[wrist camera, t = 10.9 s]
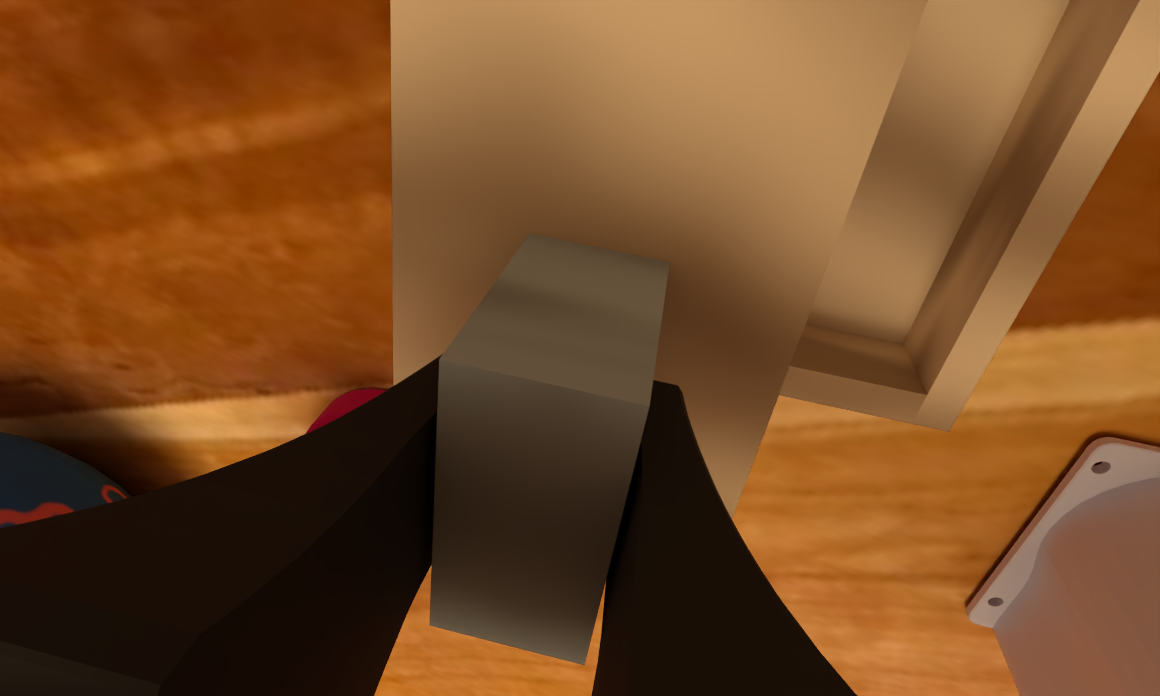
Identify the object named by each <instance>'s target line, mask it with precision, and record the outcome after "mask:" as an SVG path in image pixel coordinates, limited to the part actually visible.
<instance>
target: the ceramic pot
mask: <svg viewBox="0 0 1160 696" xmlns="http://www.w3.org/2000/svg"><path fill="white" fill-rule="evenodd" d="M129 497H131V496H130V495H129V494H128V493H127V492H126V491H125V490H124V489H123V488H122V487H120V486H119V485H118V484H117V483H115V482H114V481H112V480H111V479H109V478H108V477H107V476H105V475H104V474H102V473H101V472H99V471H98V470H97V469H95V468H93V467H92V466H90V465H88V464H86V463H84V462H82V461H80V460H78V459H76V458H74V457H71V456H69V455H67V454H65V453H63V452H61V451H58V450H56V449H54V448H52V447H50V446H48V445H45V444H43V443H40V442H37V441H34V440H31V439H28V438H25V437H20V436H16V435H11V434H7V433H2V432H0V528H4V527H9V526H13V525H18V524H23V523H27V522H31V521H35V520H40V519H44V518H48V517H53V516H57V515H61V514H66V513H70V512H74V511H78V510H83V509H87V508H91V507H96V506H99V505H103V504H107V503H111V502H115V501H118V500H122V499H126V498H129Z"/></svg>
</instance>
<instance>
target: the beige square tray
mask: <svg viewBox="0 0 1160 696" xmlns="http://www.w3.org/2000/svg"><path fill="white" fill-rule="evenodd" d="M1159 71H1160V0H928V1H927V4H926V7H925V9H924V12H923V15H922V17H921V20H920V22H919V25H918V28H917V30H916V33H915V36H914V38H913V41H912V44H911V46H910V49H909V52H908V54H907V57H906V60H905V62H904V65H903V67H902V70H901V73H900V75H899V78H898V81H897V83H896V86H895V89H894V91H893V94H892V97H891V99H890V102H889V105H888V107H887V110H886V112H885V115H884V118H883V120H882V123H881V126H880V128H879V131H878V134H877V136H876V139H875V142H874V144H873V147H872V150H871V152H870V155H869V157H868V160H867V163H866V165H865V168H864V171H863V173H862V176H861V179H860V181H859V184H858V187H857V189H856V192H855V194H854V197H853V200H852V202H851V205H850V208H849V210H848V213H847V216H846V218H845V221H844V224H843V226H842V229H841V232H840V234H839V237H838V239H837V242H836V245H835V247H834V250H833V253H832V255H831V258H830V261H829V263H828V266H827V269H826V271H825V274H824V277H823V279H822V282H821V284H820V287H819V290H818V292H817V295H816V298H815V300H814V303H813V306H812V308H811V311H810V314H809V316H808V319H807V322H806V324H805V327H804V329H803V332H802V335H801V337H800V340H799V343H798V345H797V348H796V351H795V353H794V356H793V359H792V361H791V364H790V367H789V369H788V372H787V374H786V377H785V380H784V382H783V385H782V388H781V390H780V393H779V395H781V396H786V397H791V398H795V399H800V400H804V401H809V402H814V403H818V404H823V405H827V406H832V407H837V408H841V409H846V410H851V411H855V412H860V413H864V414H869V415H874V416H878V417H883V418H887V419H892V420H897V421H901V422H906V423H911V424H915V425H920V426H924V427H929V428H934V429H938V430H943V431H947V432H949V431H950V429H951V427H952V426H953V424H954V422H955V420H956V419H957V417H958V415H959V414H960V412H961V410H962V409H963V407H964V405H965V403H966V402H967V400H968V398H969V397H970V395H971V393H972V391H973V390H974V388H975V386H976V385H977V383H978V381H979V379H980V378H981V376H982V374H983V373H984V371H985V369H986V367H987V366H988V364H989V362H990V361H991V359H992V357H993V355H994V354H995V352H996V350H997V349H998V347H999V345H1000V344H1001V342H1002V340H1003V338H1004V337H1005V335H1006V333H1007V332H1008V330H1009V328H1010V326H1011V325H1012V323H1013V321H1014V320H1015V318H1016V316H1017V314H1018V313H1019V311H1020V309H1021V308H1022V306H1023V304H1024V302H1025V301H1026V299H1027V297H1028V296H1029V294H1030V292H1031V290H1032V289H1033V287H1034V285H1035V284H1036V282H1037V280H1038V278H1039V277H1040V275H1041V273H1042V272H1043V270H1044V268H1045V267H1046V265H1047V263H1048V261H1049V260H1050V258H1051V256H1052V255H1053V253H1054V251H1055V249H1056V248H1057V246H1058V244H1059V243H1060V241H1061V239H1062V237H1063V236H1064V234H1065V232H1066V231H1067V229H1068V227H1069V225H1070V224H1071V222H1072V220H1073V219H1074V217H1075V215H1076V213H1077V212H1078V210H1079V208H1080V207H1081V205H1082V203H1083V202H1084V200H1085V198H1086V196H1087V195H1088V193H1089V191H1090V190H1091V188H1092V186H1093V184H1094V183H1095V181H1096V179H1097V178H1098V176H1099V174H1100V172H1101V171H1102V169H1103V167H1104V166H1105V164H1106V162H1107V160H1108V159H1109V157H1110V155H1111V154H1112V152H1113V150H1114V148H1115V147H1116V145H1117V143H1118V142H1119V140H1120V138H1121V136H1122V135H1123V133H1124V131H1125V130H1126V128H1127V126H1128V125H1129V123H1130V121H1131V119H1132V118H1133V116H1134V114H1135V113H1136V111H1137V109H1138V107H1139V106H1140V104H1141V102H1142V101H1143V99H1144V97H1145V95H1146V94H1147V92H1148V90H1149V89H1150V87H1151V85H1152V83H1153V82H1154V80H1155V78H1156V77H1157V75H1158V73H1159Z"/></svg>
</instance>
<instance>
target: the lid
mask: <svg viewBox="0 0 1160 696" xmlns="http://www.w3.org/2000/svg"><path fill="white" fill-rule="evenodd" d="M927 1H928V0H391V119H392V248H393V378H394V385H396V384H397V383H399V382H401V381H402V380H404V379H405V378H407V377H409V376H410V375H412V374H413V373H415V372H416V371H418V370H419V369H421V368H422V367H424V366H425V365H427V364H428V363H430V362H431V361H433V360H434V359H436V358H437V357H439V356H440V355H442V354H443V355H442V356H441V358H440V359H439V381H438V408H437V435H436V463H435V490H434V517H433V544H432V572H431V599H430V626H434V627H438V628H442V629H446V630H450V631H454V632H457V633H461V634H465V635H469V636H473V637H477V638H481V639H485V640H489V641H492V642H496V643H500V644H504V645H508V646H512V647H516V648H520V649H524V650H527V651H531V652H535V653H539V654H543V655H547V656H551V657H555V658H559V659H562V660H566V661H570V662H574V663H578V664H582V665H585V661H586V657H587V653H588V649H589V645H590V641H591V637H592V633H593V629H594V625H595V621H596V617H597V613H598V609H599V605H600V601H601V597H602V593H603V589H604V585H605V581H606V578H607V574H608V570H609V566H610V562H611V558H612V554H613V550H614V546H615V542H616V538H617V534H618V530H619V526H620V522H621V518H622V514H623V510H624V506H625V502H626V498H627V494H628V490H629V486H630V482H631V478H632V474H633V470H634V466H635V462H636V458H637V454H638V450H639V446H640V442H641V438H642V434H643V430H644V426H645V422H646V418H647V414H648V410H649V406H650V400H651V392H652V385H653V380H656V381H661V382H665V383H670V384H674V385H678V386H679V388H680V389H681V391H682V392H683V397H684V401H685V405H686V409H687V413H688V416H689V419H690V423H691V426H692V429H693V432H694V434H695V437H696V440H697V443H698V446H699V448H700V451H701V453H702V456H703V458H704V461H705V463H706V465H707V468H708V470H709V473H710V475H711V477H712V480H713V482H714V484H715V486H716V488H717V491H718V493H719V495H720V497H721V499H722V501H723V503H724V505H725V507H726V509H727V511H728V513H729V515H730V517H731V519H732V517H733V515H734V512H735V509H736V507H737V504H738V501H739V499H740V496H741V494H742V491H743V488H744V486H745V483H746V480H747V478H748V475H749V472H750V470H751V467H752V464H753V462H754V459H755V456H756V454H757V451H758V449H759V446H760V443H761V441H762V438H763V435H764V433H765V430H766V427H767V425H768V422H769V419H770V417H771V414H772V411H773V409H774V406H775V404H776V401H777V398H778V396H779V393H780V390H781V388H782V385H783V382H784V380H785V377H786V374H787V372H788V369H789V367H790V364H791V361H792V359H793V356H794V353H795V351H796V348H797V345H798V343H799V340H800V337H801V335H802V332H803V329H804V327H805V324H806V322H807V319H808V316H809V314H810V311H811V308H812V306H813V303H814V300H815V298H816V295H817V292H818V290H819V287H820V284H821V282H822V279H823V277H824V274H825V271H826V269H827V266H828V263H829V261H830V258H831V255H832V253H833V250H834V247H835V245H836V242H837V239H838V237H839V234H840V232H841V229H842V226H843V224H844V221H845V218H846V216H847V213H848V210H849V208H850V205H851V202H852V200H853V197H854V194H855V192H856V189H857V187H858V184H859V181H860V179H861V176H862V173H863V171H864V168H865V165H866V163H867V160H868V157H869V155H870V152H871V150H872V147H873V144H874V142H875V139H876V136H877V134H878V131H879V128H880V126H881V123H882V120H883V118H884V115H885V112H886V110H887V107H888V105H889V102H890V99H891V97H892V94H893V91H894V89H895V86H896V83H897V81H898V78H899V75H900V73H901V70H902V67H903V65H904V62H905V60H906V57H907V54H908V52H909V49H910V46H911V44H912V41H913V38H914V36H915V33H916V30H917V28H918V25H919V22H920V20H921V17H922V15H923V12H924V9H925V7H926V4H927Z"/></svg>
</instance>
